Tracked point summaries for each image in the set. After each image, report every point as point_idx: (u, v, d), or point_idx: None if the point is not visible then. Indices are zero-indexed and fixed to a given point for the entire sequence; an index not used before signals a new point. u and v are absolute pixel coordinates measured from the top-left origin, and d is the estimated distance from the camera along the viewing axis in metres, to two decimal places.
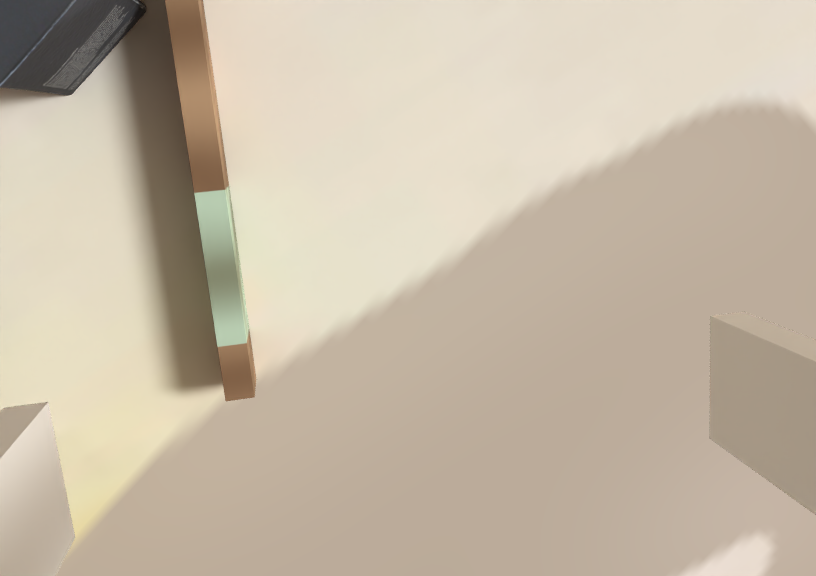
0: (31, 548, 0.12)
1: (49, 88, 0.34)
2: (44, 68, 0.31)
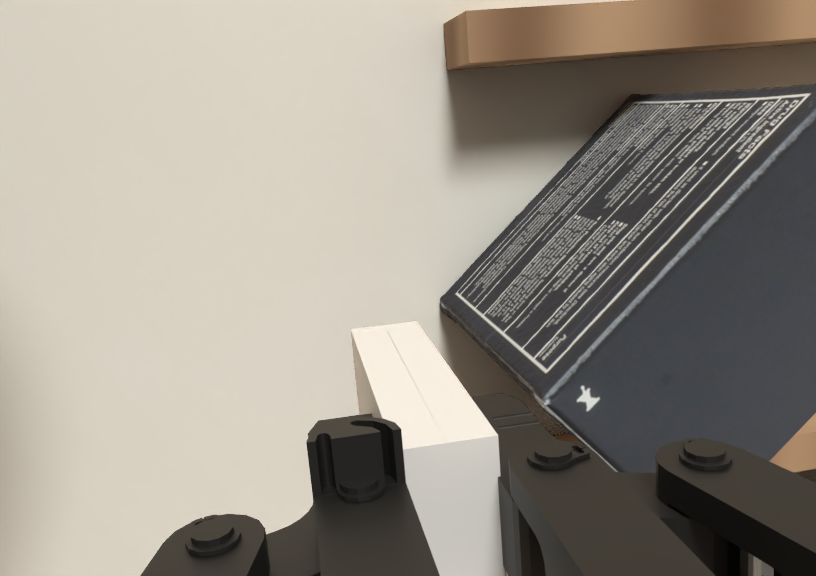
0: None
1: None
2: None
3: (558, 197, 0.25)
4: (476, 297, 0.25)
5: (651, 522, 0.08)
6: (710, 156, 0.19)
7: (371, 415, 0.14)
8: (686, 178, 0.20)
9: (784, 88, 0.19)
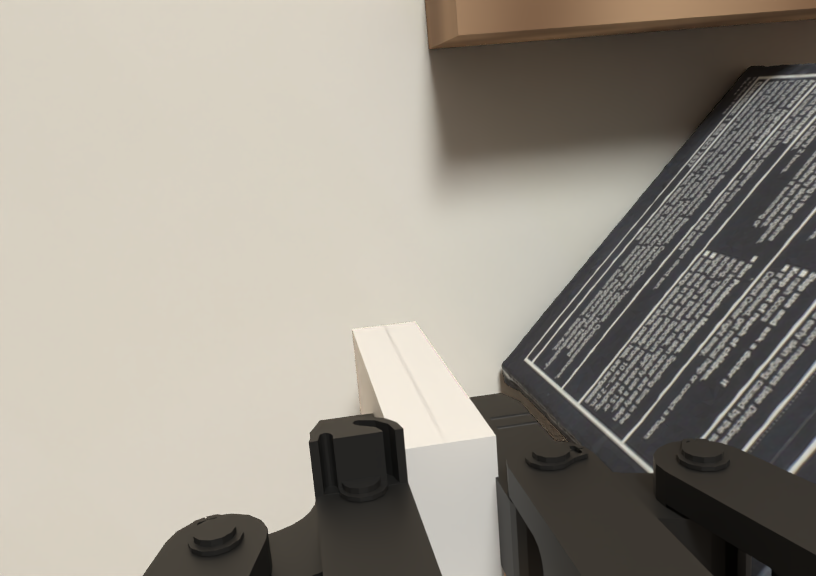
0: None
1: None
2: None
3: (665, 220, 0.18)
4: (559, 369, 0.18)
5: (649, 522, 0.08)
6: None
7: (373, 414, 0.14)
8: None
9: None
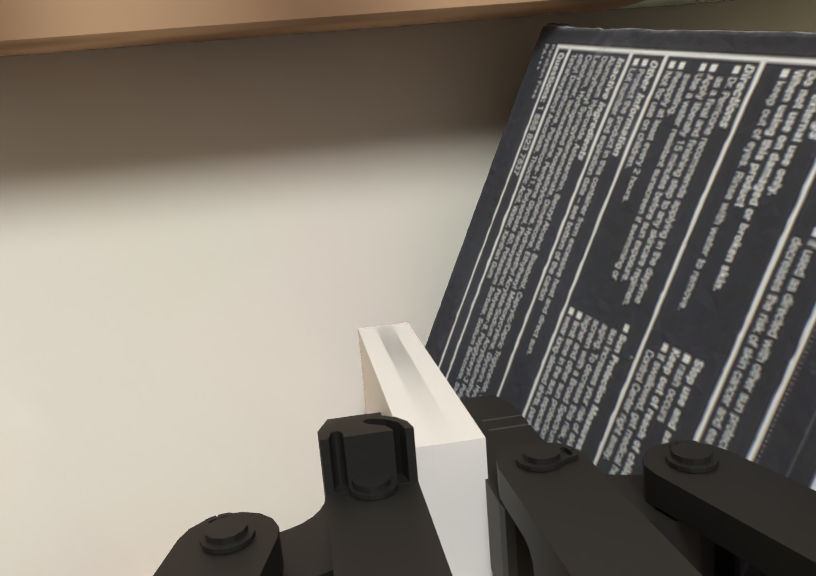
0: None
1: None
2: None
3: (512, 255, 0.16)
4: None
5: (639, 523, 0.08)
6: None
7: (380, 413, 0.14)
8: (789, 266, 0.11)
9: None
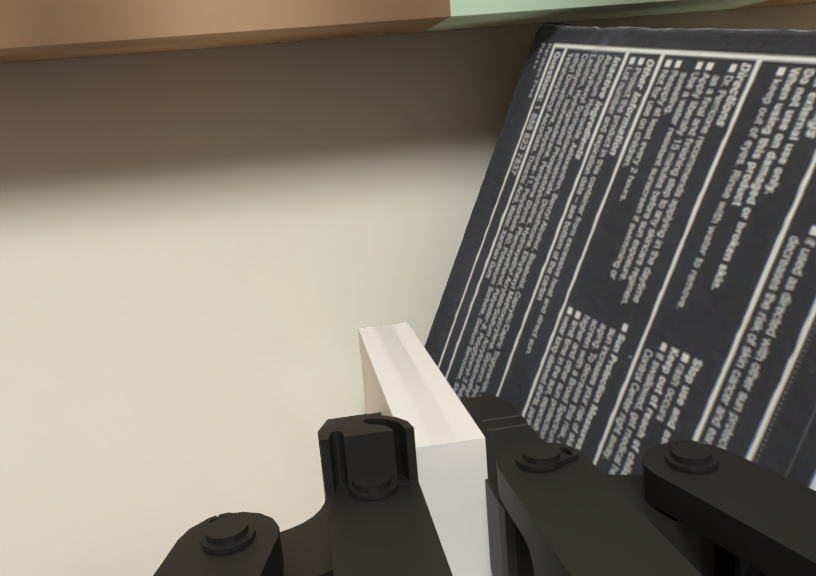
0: None
1: None
2: None
3: (510, 254, 0.16)
4: None
5: (639, 524, 0.08)
6: None
7: (380, 413, 0.14)
8: (787, 265, 0.11)
9: None
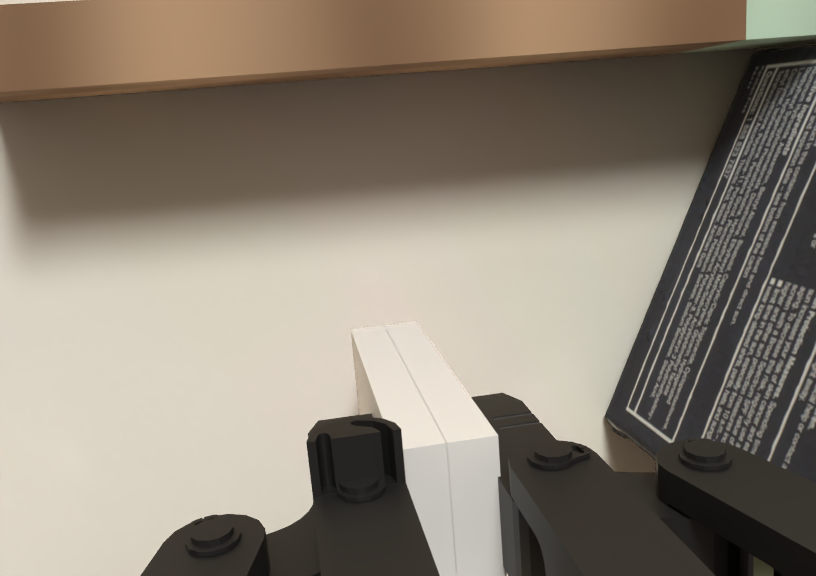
0: None
1: None
2: None
3: (720, 244, 0.18)
4: (664, 419, 0.18)
5: (651, 522, 0.08)
6: None
7: (371, 414, 0.14)
8: None
9: None
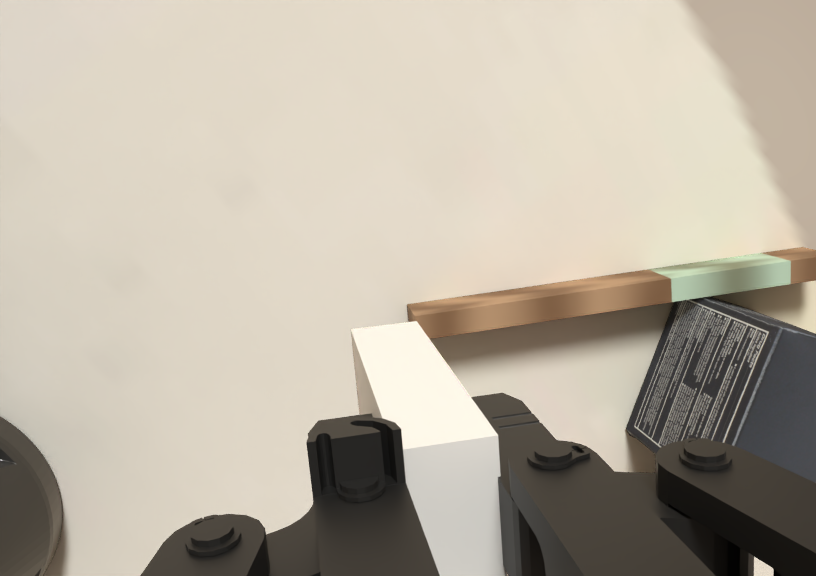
0: None
1: None
2: None
3: (667, 366, 0.48)
4: (648, 430, 0.48)
5: (651, 522, 0.08)
6: (737, 361, 0.42)
7: (371, 414, 0.14)
8: (730, 373, 0.42)
9: (757, 321, 0.42)
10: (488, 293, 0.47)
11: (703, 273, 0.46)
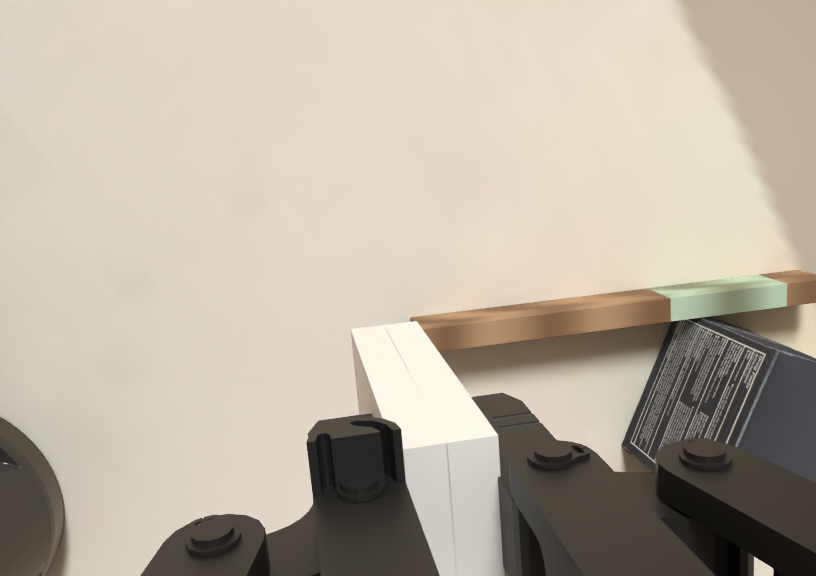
0: None
1: None
2: (810, 356, 0.44)
3: (664, 384, 0.49)
4: (644, 447, 0.49)
5: (651, 522, 0.08)
6: (733, 381, 0.43)
7: (371, 414, 0.14)
8: (726, 393, 0.43)
9: (754, 343, 0.43)
10: (491, 308, 0.48)
11: (702, 294, 0.47)
